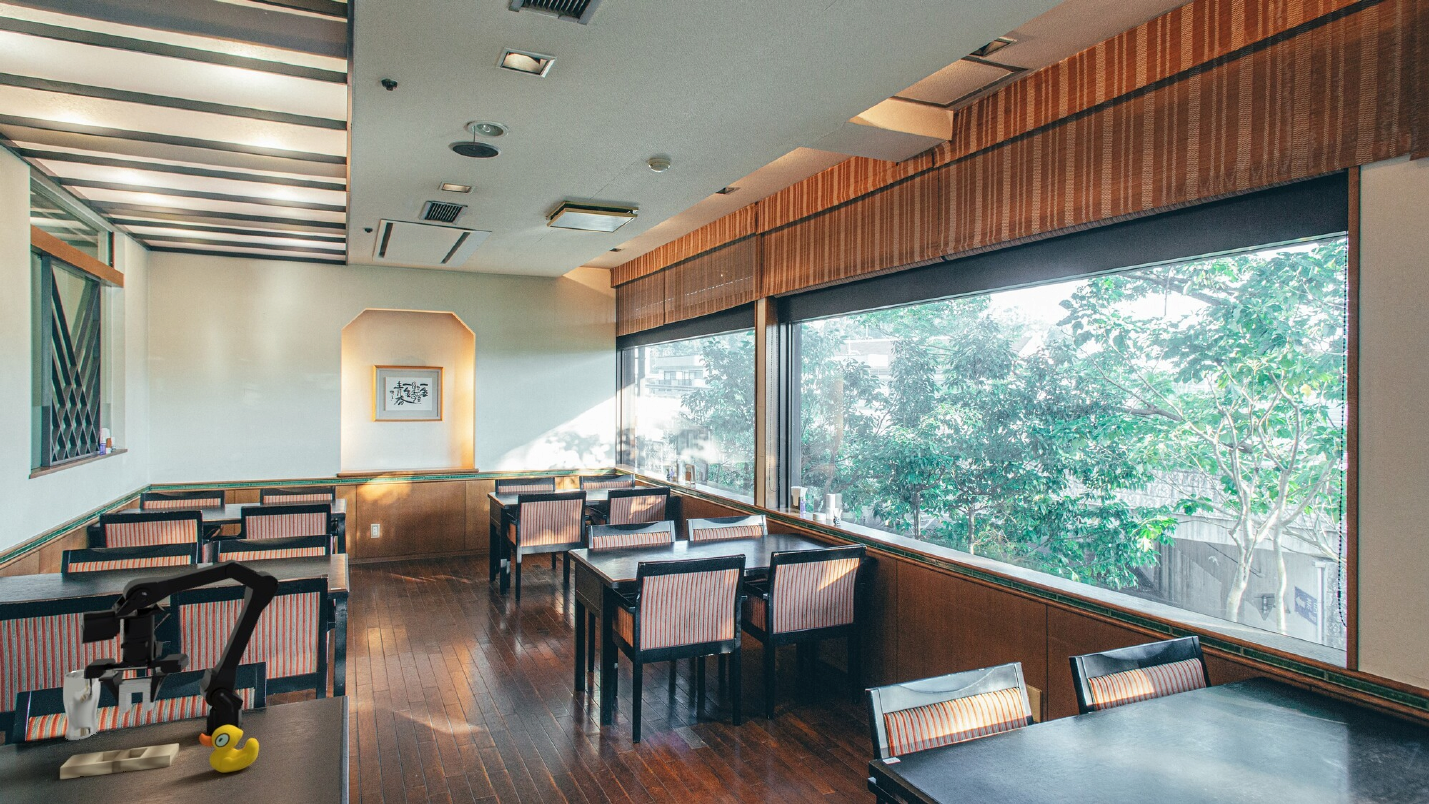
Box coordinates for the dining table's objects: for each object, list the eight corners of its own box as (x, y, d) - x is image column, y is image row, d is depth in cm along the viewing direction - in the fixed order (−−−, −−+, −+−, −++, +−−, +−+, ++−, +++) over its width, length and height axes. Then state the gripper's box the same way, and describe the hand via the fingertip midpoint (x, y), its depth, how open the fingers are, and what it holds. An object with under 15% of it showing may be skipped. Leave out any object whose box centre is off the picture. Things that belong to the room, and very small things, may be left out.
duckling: (195, 780, 166) (196, 734, 166) (202, 769, 171) (202, 724, 171) (256, 772, 170) (256, 727, 170) (260, 761, 175) (261, 717, 175)
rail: (178, 754, 178) (178, 743, 178) (170, 766, 172) (170, 755, 172) (72, 766, 171) (72, 755, 171) (60, 779, 165) (60, 767, 165)
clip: (154, 706, 179) (155, 678, 179) (149, 710, 177) (150, 682, 177) (123, 708, 178) (124, 680, 178) (118, 713, 175) (119, 684, 175)
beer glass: (107, 729, 189) (108, 668, 189) (81, 742, 183) (82, 679, 182) (81, 727, 190) (82, 667, 190) (54, 740, 183) (55, 677, 183)
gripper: (197, 622, 188) (195, 686, 188) (105, 627, 182) (104, 693, 182) (180, 636, 177) (179, 704, 177) (83, 642, 171) (81, 712, 171)
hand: (136, 703), depth 177 cm, fingers closed on clip, 6 cm apart
